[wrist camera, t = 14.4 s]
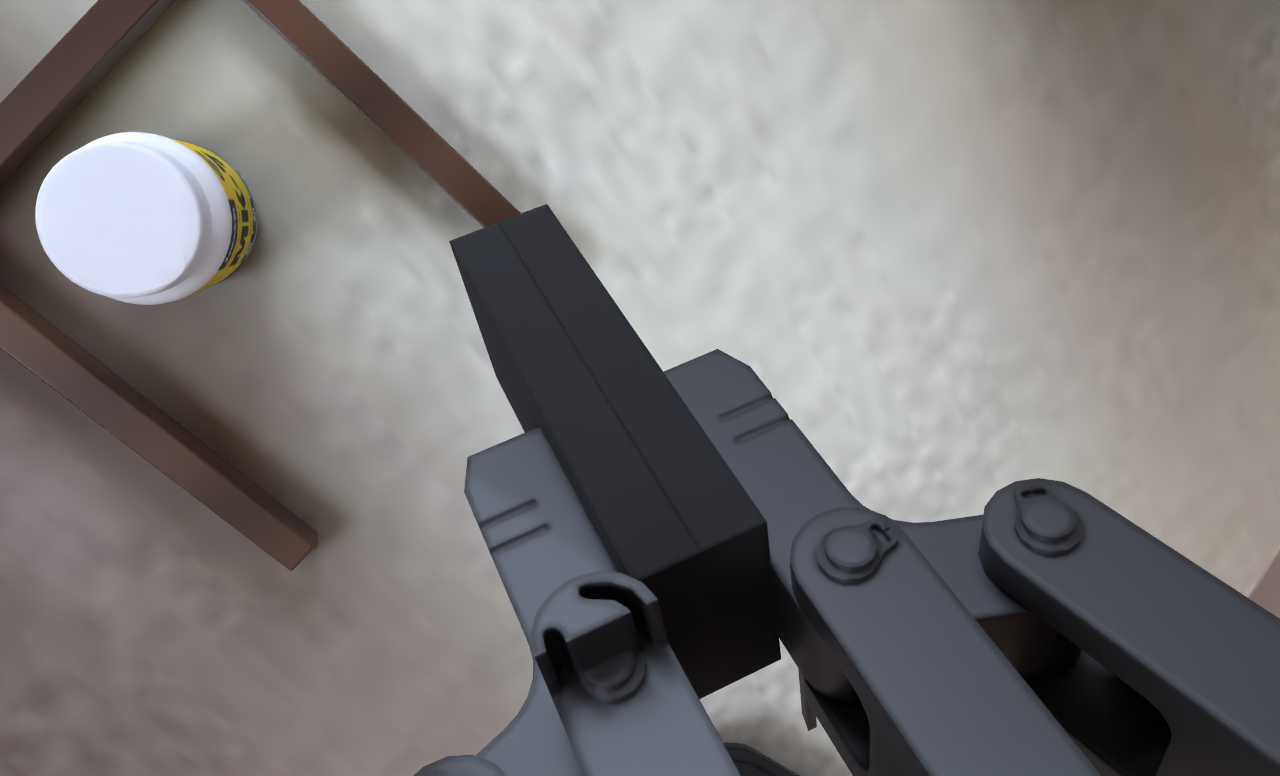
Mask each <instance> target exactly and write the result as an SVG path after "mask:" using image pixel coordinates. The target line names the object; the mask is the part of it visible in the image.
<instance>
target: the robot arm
mask: <svg viewBox="0 0 1280 776" xmlns="http://www.w3.org/2000/svg"><path fill="white" fill-rule="evenodd" d="M449 242H450V244H451V247H452V250H453V253H454V256H455V259H456V262H457V265H458V268H459V270H460V273H461V276H462V279H463V282H464V285H465V288H466V291H467V293H468V296H469V299H470V302H471V305H472V308H473V311H474V314H475V317H476V319H477V322H478V325H479V328H480V331H481V334H482V337H483V340H484V343H485V345H486V348H487V351H488V354H489V357H490V360H491V363H492V366H493V368H494V371H495V374H496V377H497V379H498V381H499V383H500V385H501V387H502V389H503V391H504V393H505V394H506V396H507V398H508V400H509V402H510V404H511V406H512V408H513V410H514V412H515V414H516V416H517V418H518V420H519V422H520V424H521V426H522V428H523V430H524V432H525V433H524V434H521V435H519V436H517V437H514V438H512V439H509V440H507V441H505V442H502V443H500V444H498V445H495V446H493V447H491V448H488V449H486V450H483V451H481V452H479V453H476V454H474V455H472V456H469V457H468V460H467V470H466V480H465V489H464V492H465V495H466V497H467V499H468V502H469V504H470V506H471V509H472V511H473V514H474V516H475V518H476V521H477V523H478V525H479V528H480V530H481V532H482V535H483V537H484V540H485V542H486V544H487V547H488V549H489V551H490V554H491V556H492V558H493V561H494V563H495V565H496V568H497V570H498V573H499V575H500V577H501V580H502V582H503V584H504V587H505V589H506V591H507V594H508V596H509V598H510V601H511V603H512V606H513V608H514V610H515V613H516V615H517V617H518V620H519V622H520V624H521V627H522V629H523V631H524V634H525V636H526V639H527V641H528V643H529V646H530V650H531V653H532V657H533V680H532V684H531V687H530V691H529V694H528V697H527V699H526V701H525V703H524V704H523V706H522V708H521V710H520V711H519V713H518V714H517V716H516V717H515V718H514V719H513V720H512V721H511V722H510V724H509V725H508V726H507V727H506V728H505V729H504V730H503V731H502V732H501V733H500V734H499V735H498V736H496V737H495V738H494V739H493V740H492V741H491V742H490V743H489V744H488V745H487V746H486V747H484V748H483V749H482V750H481V751H480V752H479V753H478V754H477V755H476V756H475V755H462V756H447V757H445V758H443V759H441V760H438V761H436V762H434V763H431V764H429V765H427V766H425V767H423V768H422V769H421V770H420V771H418V772H417V773H416V774H415V775H414V776H741V775H740V773H739V772H738V770H737V768H736V766H735V764H734V762H733V761H732V759H731V757H730V755H729V753H728V751H727V750H726V748H725V746H724V744H723V742H722V740H721V738H720V737H719V735H718V733H717V731H716V729H715V727H714V726H713V724H712V722H711V720H710V718H709V716H708V715H707V713H706V711H705V709H704V707H703V705H702V704H701V702H700V700H699V699H701V698H703V697H705V696H707V695H709V694H711V693H713V692H715V691H717V690H719V689H721V688H723V687H725V686H727V685H729V684H731V683H733V682H735V681H737V680H739V679H741V678H743V677H745V676H747V675H749V674H752V673H754V672H756V671H758V670H760V669H762V668H764V667H766V666H768V665H770V664H772V663H774V662H776V661H778V660H780V659H781V653H780V644H779V638H780V640H781V641H782V643H783V644H784V646H785V648H786V649H787V651H788V652H789V654H790V655H791V657H792V659H793V660H794V662H795V663H796V665H797V666H798V669H799V681H800V693H801V705H802V714H803V717H804V720H805V723H806V725H807V728H808V731H810V730H812V729H813V728H815V727H817V724H816V717H817V718H818V720H819V722H820V723H821V725H822V726H823V728H824V730H825V731H826V733H827V734H828V736H829V738H830V739H831V741H832V742H833V744H834V746H835V747H836V749H837V751H838V752H839V754H840V755H841V757H842V759H843V760H844V762H845V763H846V765H847V767H848V768H849V770H850V771H851V773H852V775H853V776H1280V619H1279V618H1277V617H1276V616H1274V615H1273V614H1271V613H1270V612H1268V611H1267V610H1265V609H1264V608H1262V607H1260V606H1259V605H1258V604H1256V603H1254V602H1253V601H1251V600H1250V599H1248V598H1247V597H1245V596H1244V595H1242V594H1241V593H1239V592H1238V591H1236V590H1235V589H1233V588H1232V587H1230V586H1229V585H1227V584H1226V583H1224V582H1222V581H1221V580H1219V579H1218V578H1216V577H1215V576H1213V575H1212V574H1210V573H1209V572H1207V571H1206V570H1204V569H1203V568H1201V567H1200V566H1198V565H1196V564H1195V563H1193V562H1192V561H1190V560H1189V559H1187V558H1186V557H1184V556H1183V555H1181V554H1180V553H1178V552H1177V551H1175V550H1174V549H1172V548H1170V547H1169V546H1167V545H1166V544H1164V543H1163V542H1161V541H1160V540H1158V539H1157V538H1155V537H1154V536H1152V535H1151V534H1149V533H1148V532H1146V531H1144V530H1143V529H1141V528H1140V527H1138V526H1137V525H1135V524H1134V523H1132V522H1131V521H1129V520H1128V519H1126V518H1125V517H1123V516H1121V515H1120V514H1118V513H1117V512H1115V511H1114V510H1112V509H1111V508H1109V507H1108V506H1106V505H1105V504H1103V503H1102V502H1100V501H1099V500H1097V499H1095V498H1094V497H1092V496H1091V495H1089V494H1088V493H1086V492H1084V491H1082V490H1080V489H1078V488H1075V487H1073V486H1071V485H1069V484H1067V483H1065V482H1060V481H1054V480H1047V479H1040V478H1037V479H1030V480H1023V481H1016V482H1014V483H1012V484H1010V485H1008V486H1006V487H1004V488H1002V489H1000V490H999V491H997V492H996V493H995V494H994V496H993V497H992V498H991V499H990V501H989V502H988V503H987V505H986V506H985V509H984V515H979V516H972V517H965V518H958V519H951V520H944V521H937V522H924V523H910V522H903V521H897V520H893V519H890V518H888V517H887V516H885V515H882V514H879V513H877V512H874V511H871V510H870V509H868V508H866V507H865V506H863V505H862V504H861V503H860V502H859V501H858V500H857V499H856V498H854V497H853V496H852V495H851V494H850V492H849V491H848V490H847V489H846V487H845V486H844V485H843V483H842V482H841V481H840V480H839V478H838V477H837V476H836V475H835V473H834V472H833V471H832V470H831V468H830V467H829V466H828V464H827V463H826V462H825V461H824V459H823V458H822V457H821V456H820V454H819V453H818V452H817V451H816V449H815V448H814V447H813V446H812V444H811V443H810V442H809V440H808V439H807V438H806V437H805V435H804V434H803V433H802V432H801V430H800V429H799V428H798V427H797V425H796V424H795V423H794V422H793V420H790V419H789V417H788V414H787V413H786V411H785V410H784V409H783V408H782V406H781V405H780V404H779V403H778V401H777V400H776V399H775V398H774V399H773V397H772V395H771V392H770V391H769V390H768V389H767V387H766V386H765V385H764V384H763V382H762V381H761V380H760V379H759V377H758V376H757V375H756V373H755V372H754V371H753V370H752V368H751V367H750V366H748V365H746V364H744V363H742V362H741V361H739V360H737V359H735V358H733V357H731V356H729V355H728V354H726V353H724V352H722V351H720V350H718V349H716V350H714V351H712V352H709V353H707V354H705V355H702V356H700V357H698V358H695V359H693V360H690V361H688V362H686V363H683V364H681V365H679V366H676V367H674V368H671V369H669V370H667V371H664V372H663V371H662V370H661V368H660V367H659V365H658V364H657V362H656V361H655V359H654V358H653V357H652V355H651V354H650V352H649V351H648V349H647V348H646V346H645V345H644V344H643V342H642V341H641V339H640V338H639V336H638V335H637V333H636V332H635V331H634V329H633V328H632V326H631V325H630V323H629V322H628V320H627V319H626V318H625V316H624V315H623V313H622V312H621V310H620V309H619V307H618V306H617V305H616V303H615V302H614V300H613V299H612V297H611V296H610V294H609V293H608V292H607V290H606V289H605V287H604V286H603V284H602V283H601V281H600V280H599V279H598V277H597V276H596V274H595V273H594V271H593V270H592V269H591V267H590V266H589V264H588V263H587V261H586V260H585V258H584V257H583V256H582V254H581V253H580V251H579V250H578V248H577V247H576V245H575V244H574V243H573V241H572V240H571V238H570V237H569V235H568V234H567V232H566V231H565V230H564V228H563V227H562V225H561V224H560V222H559V221H558V219H557V218H556V217H555V215H554V214H553V212H552V211H551V209H550V208H549V206H548V205H547V204H546V205H543V206H541V207H538V208H535V209H533V210H530V211H528V212H525V213H522V214H520V215H517V216H514V217H512V218H509V219H507V220H504V221H501V222H499V223H496V224H493V225H491V226H488V227H486V228H483V229H480V230H478V231H475V232H472V233H470V234H467V235H465V236H462V237H459V238H457V239H454V240H451V241H449Z"/></svg>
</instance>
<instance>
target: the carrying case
mask: <svg viewBox="0 0 1280 776" xmlns="http://www.w3.org/2000/svg"><path fill="white" fill-rule="evenodd" d="M723 744H724V746H725V748H726V750H727V751H728V753H729V755H730V757H731V759H732V761H733V762H734V764H735V766H736V768H737V770H738V772H739V773H740V775H741V776H799V775H797V774H796V773H794V772H792V771H791V770H789V769H787V768H785V767H784V766H782V765H780V764H779V763H777V762H775V761H773V760H772V759H770V758H768V757H767V756H765V755H763V754H761V753H760V752H758V751H756V750H755V749H753V748H751V747H749V746H746V745H743V744H738V743H723Z"/></svg>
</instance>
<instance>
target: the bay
mask: <svg viewBox="0 0 1280 776" xmlns="http://www.w3.org/2000/svg"><path fill="white" fill-rule="evenodd" d="M175 1H176V0H98V1H97V2H96V3H95V4H94V5H93V6H92V7H91V8H90V10H89V11H88V12H87V13H86V14H85V15H84V16H83V17H82V18H81V19H80V20H79V21H78V22H77V23H76V24H75V25H74V26H73V27H72V29H71V30H70V31H69V32H68V33H67V34H66V35H65V36H64V37H63V38H62V39H61V40H60V41H59V42H58V43H57V44H56V45H55V46H54V48H53V49H52V50H51V51H50V52H49V53H48V54H47V55H46V56H45V57H44V58H43V59H42V60H41V61H40V62H39V63H38V64H37V65H36V67H35V68H34V69H33V70H32V71H31V72H30V73H29V74H28V75H27V76H26V77H25V78H24V79H23V80H22V81H21V82H20V83H19V84H18V86H17V87H16V88H15V89H14V90H13V91H12V92H11V93H10V94H9V95H8V96H7V97H6V98H5V99H4V100H3V101H2V102H1V103H0V186H1V184H2V183H3V182H4V181H5V180H6V179H7V178H8V177H9V176H10V175H11V174H12V173H13V172H14V171H15V170H16V169H17V168H18V167H19V165H20V164H21V163H22V162H23V161H24V160H25V159H26V158H27V157H28V156H29V155H30V154H31V153H32V152H33V151H34V150H35V149H36V147H37V146H38V145H39V144H40V143H41V142H42V141H43V140H44V139H45V138H46V137H47V136H48V135H49V134H50V133H51V132H52V131H53V130H54V128H55V127H56V126H57V125H58V124H59V123H60V122H61V121H62V120H63V119H64V118H65V117H66V116H67V115H68V114H69V113H70V112H71V110H72V109H73V108H74V107H75V106H76V105H77V104H78V103H79V102H80V101H81V100H82V99H83V98H84V97H85V96H86V95H87V94H88V93H89V91H90V90H91V89H92V88H93V87H94V86H95V85H96V84H97V83H98V82H99V81H100V80H101V79H102V78H103V77H104V76H105V75H106V73H107V72H108V71H109V70H110V69H111V68H112V67H113V66H114V65H115V64H116V63H117V62H118V61H119V60H120V59H121V58H122V57H123V55H124V54H125V53H126V52H127V51H128V50H129V49H130V48H131V47H132V46H133V45H134V44H135V43H136V42H137V41H138V40H139V39H140V38H141V36H142V35H143V34H144V33H145V32H146V31H147V30H148V29H149V28H150V27H151V26H152V25H153V24H154V23H155V22H156V21H157V20H158V18H159V17H160V16H161V15H162V14H163V13H164V12H165V11H166V10H167V9H168V8H169V7H170V6H171V5H172V4H173V3H174V2H175ZM242 1H243V2H244V3H245V4H246V5H247V6H248V7H250V8H251V9H252V10H253V11H254V12H255V13H256V14H257V15H258V16H259V17H260V18H261V19H262V20H263V21H264V22H265V23H267V24H268V25H269V26H270V27H271V28H272V29H273V30H274V31H275V32H276V33H277V34H278V35H279V36H280V37H281V38H282V39H284V40H285V41H286V42H287V43H288V44H289V45H290V46H291V47H292V48H293V49H294V50H295V51H296V52H297V53H298V54H299V55H300V56H302V57H303V58H304V59H305V60H306V61H307V62H308V63H309V64H310V65H311V66H312V67H313V68H314V69H315V70H316V71H317V72H319V73H320V74H321V75H322V76H323V77H324V78H325V79H326V80H327V81H328V82H329V83H330V84H331V85H332V86H333V87H334V88H336V89H337V90H338V91H339V92H340V93H341V94H342V95H343V96H344V97H345V98H346V99H347V100H348V101H349V102H350V103H351V104H353V105H354V106H355V107H356V108H357V109H358V110H359V111H360V112H361V113H362V114H363V115H364V116H365V117H366V118H367V119H368V120H369V121H371V122H372V123H373V124H374V125H375V126H376V127H377V128H378V129H379V130H380V131H381V132H382V133H383V134H384V135H385V136H386V137H388V138H389V139H390V140H391V141H392V142H393V143H394V144H395V145H396V146H397V147H398V148H399V149H400V150H401V151H402V152H403V153H405V154H406V155H407V156H408V157H409V158H410V159H411V160H412V161H413V162H414V163H415V164H416V165H417V166H418V167H419V168H420V169H422V170H423V171H424V172H425V173H426V174H427V175H428V176H429V177H430V178H431V179H432V180H433V181H434V182H435V183H436V184H437V185H438V186H440V187H441V188H442V189H443V190H444V191H445V192H446V193H447V194H448V195H449V196H450V197H451V198H452V199H453V200H454V201H455V202H457V203H458V204H459V205H460V206H461V207H462V208H463V209H464V210H465V211H466V212H467V213H468V214H469V215H470V216H471V217H472V218H474V219H475V220H476V221H477V222H478V223H479V224H480V225H481V226H482V227H483V228H486V227H488V226H491V225H493V224H496V223H499V222H501V221H504V220H507V219H509V218H512V217H514V216H517V215H520V214H521V213H520V212H519V211H518V210H517V209H516V208H515V207H514V206H513V205H512V204H511V203H510V202H509V201H508V200H507V199H506V198H504V197H503V196H502V195H501V194H500V193H499V192H498V191H497V190H496V189H495V188H494V187H493V186H492V185H491V184H490V183H489V182H488V181H487V180H486V179H485V178H484V177H483V176H482V175H481V174H479V173H478V172H477V171H476V170H475V169H474V168H473V167H472V166H471V165H470V164H469V163H468V162H467V161H466V160H465V159H464V158H463V157H462V156H461V155H460V154H459V153H458V152H457V151H456V150H454V149H453V148H452V147H451V146H450V145H449V144H448V143H447V142H446V141H445V140H444V139H443V138H442V137H441V136H440V135H439V134H438V133H437V132H436V131H435V130H434V129H433V128H432V127H430V126H429V125H428V124H427V123H426V122H425V121H424V120H423V119H422V118H421V117H420V116H419V115H418V114H417V113H416V112H415V111H414V110H413V109H412V108H411V107H410V106H409V105H408V104H407V103H405V102H404V101H403V100H402V99H401V98H400V97H399V96H398V95H397V94H396V93H395V92H394V91H393V90H392V89H391V88H390V87H389V86H388V85H387V84H386V83H385V82H384V81H383V80H382V79H380V78H379V77H378V76H377V75H376V74H375V73H374V72H373V71H372V70H371V69H370V68H369V67H368V66H367V65H366V64H365V63H364V62H363V61H362V60H361V59H360V58H359V57H358V56H357V55H355V54H354V53H353V52H352V51H351V50H350V49H349V48H348V47H347V46H346V45H345V44H344V43H343V42H342V41H341V40H340V39H339V38H338V37H337V36H336V35H335V34H334V33H333V32H332V31H330V30H329V29H328V28H327V27H326V26H325V25H324V24H323V23H322V22H321V21H320V20H319V19H318V18H317V17H316V16H315V15H314V14H313V13H312V12H311V11H310V10H309V9H308V8H307V7H305V6H304V5H303V4H302V3H301V2H300V1H299V0H242ZM0 348H1V349H2V350H3V351H5V352H6V353H7V354H9V355H10V356H11V357H13V358H14V359H15V360H16V361H18V362H19V363H20V364H22V365H23V366H24V367H26V368H27V369H28V370H30V371H31V372H32V373H33V374H35V375H36V376H37V377H39V378H40V379H41V380H43V381H44V382H45V383H46V384H48V385H49V386H50V387H52V388H53V389H54V390H56V391H57V392H58V393H59V394H61V395H62V396H63V397H65V398H66V399H67V400H69V401H70V402H71V403H73V404H74V405H75V406H76V407H78V408H79V409H80V410H82V411H83V412H84V413H86V414H87V415H88V416H89V417H91V418H92V419H93V420H95V421H96V422H97V423H99V424H100V425H101V426H103V427H104V428H105V429H106V430H108V431H109V432H110V433H112V434H113V435H114V436H116V437H117V438H118V439H119V440H121V441H122V442H123V443H125V444H126V445H127V446H129V447H130V448H131V449H133V450H134V451H135V452H136V453H138V454H139V455H140V456H142V457H143V458H144V459H146V460H147V461H148V462H149V463H151V464H152V465H153V466H155V467H156V468H157V469H159V470H160V471H161V472H162V473H164V474H165V475H166V476H168V477H169V478H170V479H172V480H173V481H174V482H176V483H177V484H178V485H179V486H181V487H182V488H183V489H185V490H186V491H187V492H189V493H190V494H191V495H192V496H194V497H195V498H196V499H198V500H199V501H200V502H202V503H203V504H204V505H206V506H207V507H208V508H209V509H211V510H212V511H213V512H215V513H216V514H217V515H219V516H220V517H221V518H222V519H224V520H225V521H226V522H228V523H229V524H230V525H232V526H233V527H234V528H235V529H237V530H238V531H239V532H241V533H242V534H243V535H245V536H246V537H247V538H249V539H250V540H251V541H252V542H254V543H255V544H256V545H258V546H259V547H260V548H262V549H263V550H264V551H265V552H267V553H268V554H269V555H271V556H272V557H273V558H275V559H276V560H277V561H279V562H280V563H281V564H282V565H284V566H285V567H286V568H288V569H289V570H291V571H292V570H294V568H295V567H296V566H297V565H298V564H299V563H300V562H301V561H302V560H303V559H304V558H305V557H306V556H307V554H308V553H309V552H310V551H311V550H312V549H313V548H314V545H315V541H316V537H317V533H316V532H315V531H314V530H313V529H311V528H310V527H309V526H307V525H306V524H305V523H304V522H302V521H301V520H300V519H299V518H297V517H296V516H295V515H294V514H292V513H291V512H290V511H288V510H287V509H286V508H285V507H283V506H282V505H281V504H280V503H278V502H277V501H276V500H274V499H273V498H272V497H271V496H269V495H268V494H267V493H266V492H264V491H263V490H262V489H260V488H259V487H258V486H257V485H255V484H254V483H253V482H252V481H250V480H249V479H248V478H246V477H245V476H244V475H243V474H241V473H240V472H239V471H238V470H236V469H235V468H234V467H232V466H231V465H230V464H229V463H227V462H226V461H225V460H224V459H222V458H221V457H220V456H219V455H217V454H216V453H215V452H213V451H212V450H211V449H210V448H208V447H207V446H206V445H205V444H203V443H202V442H201V441H199V440H198V439H197V438H196V437H194V436H193V435H192V434H191V433H189V432H188V431H187V430H185V429H184V428H183V427H182V426H180V425H179V424H178V423H177V422H175V421H174V420H173V419H171V418H170V417H169V416H168V415H166V414H165V413H164V412H163V411H161V410H160V409H159V408H157V407H156V406H155V405H154V404H152V403H151V402H150V401H149V400H147V399H146V398H145V397H144V396H142V395H141V394H140V393H138V392H137V391H136V390H135V389H133V388H132V387H131V386H130V385H128V384H127V383H126V382H124V381H123V380H122V379H121V378H119V377H118V376H117V375H116V374H114V373H113V372H112V371H110V370H109V369H108V368H107V367H105V366H104V365H103V364H102V363H100V362H99V361H98V360H96V359H95V358H94V357H93V356H91V355H90V354H89V353H88V352H86V351H85V350H84V349H82V348H81V347H80V346H79V345H77V344H76V343H75V342H74V341H72V340H71V339H70V338H68V337H67V336H66V335H65V334H63V333H62V332H61V331H60V330H58V329H57V328H56V327H55V326H53V325H52V324H51V323H49V322H48V321H47V320H46V319H44V318H43V317H42V316H41V315H39V314H38V313H37V312H35V311H34V310H33V309H32V308H30V307H29V306H28V305H27V304H25V303H24V302H23V301H21V300H20V299H19V298H18V297H16V296H15V295H14V294H13V293H11V292H10V291H9V290H7V289H6V288H5V287H4V286H2V285H1V284H0Z"/></svg>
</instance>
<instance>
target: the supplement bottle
mask: <svg viewBox="0 0 1280 776" xmlns="http://www.w3.org/2000/svg"><path fill="white" fill-rule="evenodd" d="M257 226H258V218H257V209H256V204H255V201H254V198H253V196H252V193H251V191H250V189H249V187H248V185H247V183H246V182H245V180H244V179H243V177H242V176H241V175H240V173H239V172H238V171H237V170H236V169H235V168H234V167H233V166H232V165H231V164H230V163H229V162H228V161H226V160H225V159H224V158H222V157H221V156H219V155H217V154H216V153H214V152H212V151H210V150H207V149H205V148H202V147H200V146H197V145H193V144H190V143H186V142H183V141H179V140H175V139H172V138H168V137H164V136H160V135H156V134H151V133H144V132H124V133H117V134H112V135H108V136H105V137H102V138H99V139H96V140H94V141H92V142H90V143H88V144H87V145H85V146H83V147H82V148H80V149H78V150H76V151H74V152H72V153H70V154H69V155H67V156H66V157H64V158H63V159H62V160H60V161H59V162H58V163H57V164H56V165H55V166H54V167H53V168H52V169H51V171H50V172H49V173H48V175H47V176H46V178H45V179H44V181H43V183H42V186H41V188H40V190H39V193H38V197H37V202H36V227H37V232H38V235H39V238H40V241H41V244H42V246H43V248H44V250H45V252H46V254H47V255H48V257H49V258H50V260H51V261H52V263H53V264H54V265H55V266H56V267H57V268H58V269H59V270H60V271H61V272H62V273H63V274H64V275H65V276H66V277H67V278H69V279H70V280H71V281H73V282H74V283H76V284H77V285H79V286H81V287H82V288H84V289H86V290H89V291H91V292H94V293H96V294H100V295H104V296H107V297H110V298H112V299H115V300H118V301H122V302H126V303H132V304H139V305H157V304H164V303H168V302H173V301H177V300H179V299H182V298H184V297H187V296H189V295H191V294H194V293H196V292H198V291H200V290H203V289H205V288H207V287H209V286H212V285H214V284H216V283H219V282H221V281H223V280H225V279H226V278H228V277H229V276H230V275H232V274H233V273H234V272H235V271H236V270H237V269H238V268H239V267H240V266H241V265H242V263H243V262H244V261H245V260H246V258H247V257H248V255H249V253H250V251H251V249H252V247H253V244H254V241H255V238H256V233H257Z"/></svg>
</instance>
